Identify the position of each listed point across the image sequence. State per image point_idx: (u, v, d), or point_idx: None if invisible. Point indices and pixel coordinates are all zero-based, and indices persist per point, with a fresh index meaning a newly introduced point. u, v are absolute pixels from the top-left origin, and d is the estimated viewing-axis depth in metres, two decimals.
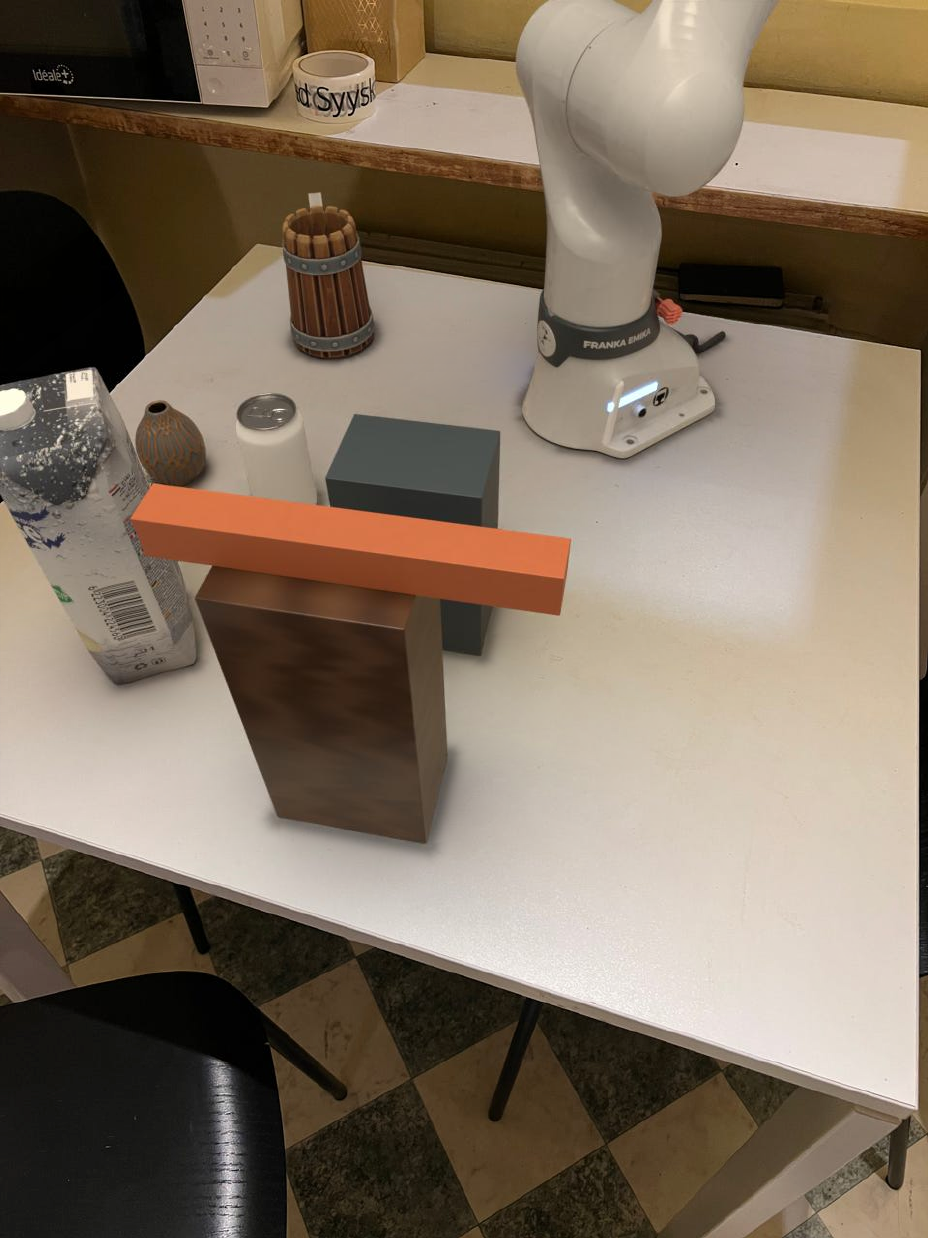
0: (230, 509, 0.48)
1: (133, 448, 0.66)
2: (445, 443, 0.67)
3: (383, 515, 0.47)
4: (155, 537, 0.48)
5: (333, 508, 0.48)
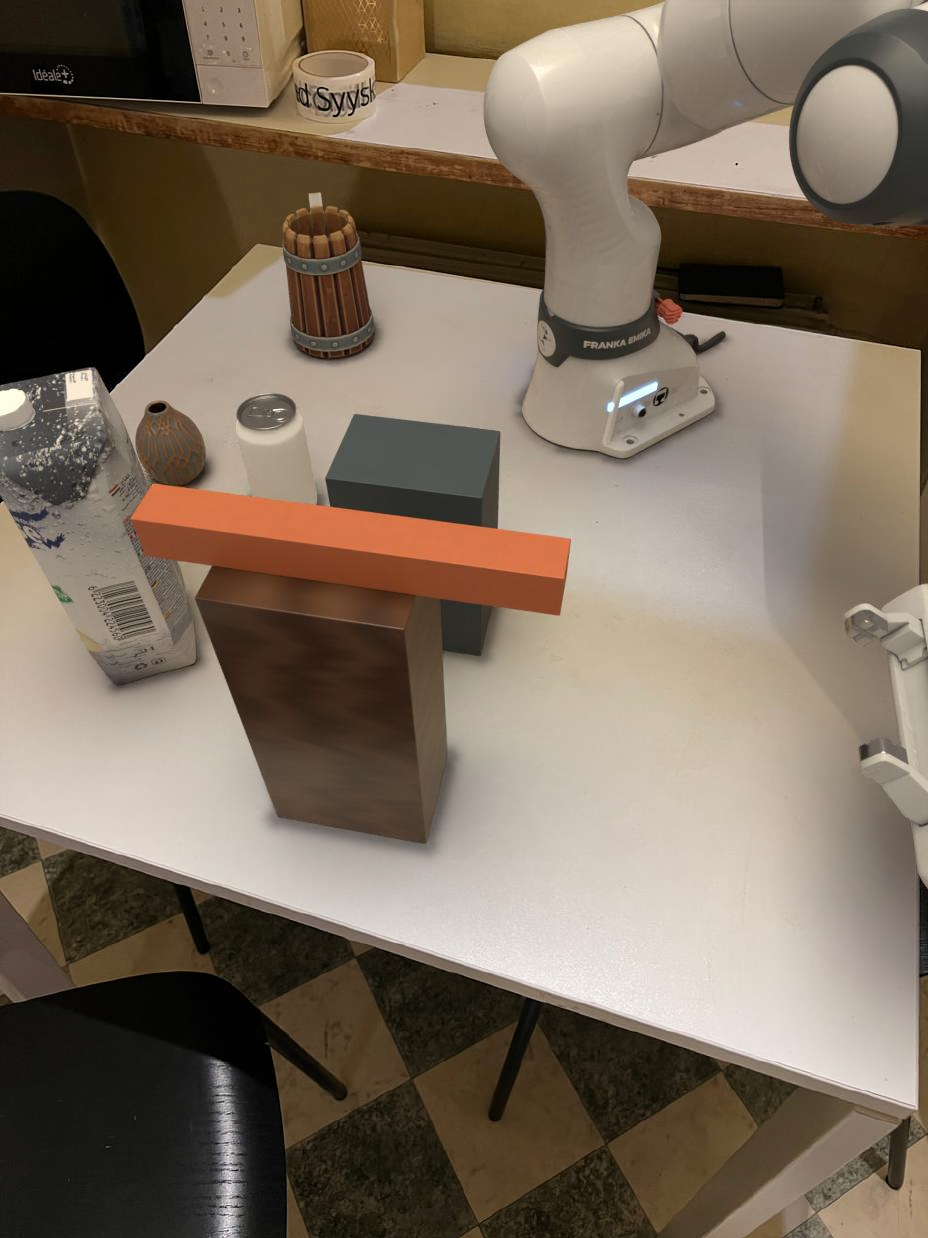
0: (230, 509, 0.48)
1: (133, 448, 0.66)
2: (445, 443, 0.67)
3: (383, 515, 0.47)
4: (155, 537, 0.48)
5: (333, 508, 0.48)
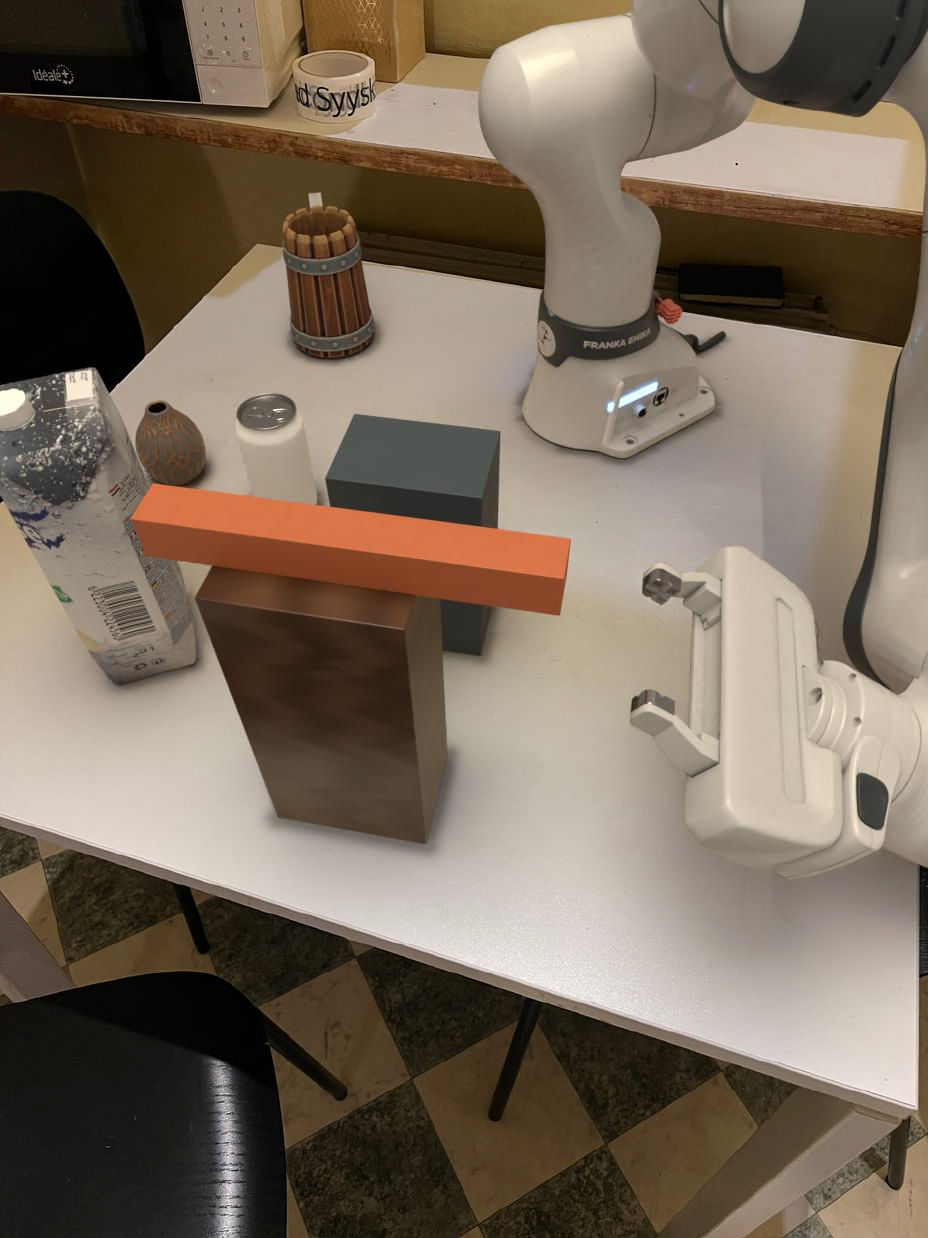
0: (230, 509, 0.48)
1: (133, 448, 0.66)
2: (445, 443, 0.67)
3: (383, 515, 0.47)
4: (155, 537, 0.48)
5: (333, 508, 0.48)
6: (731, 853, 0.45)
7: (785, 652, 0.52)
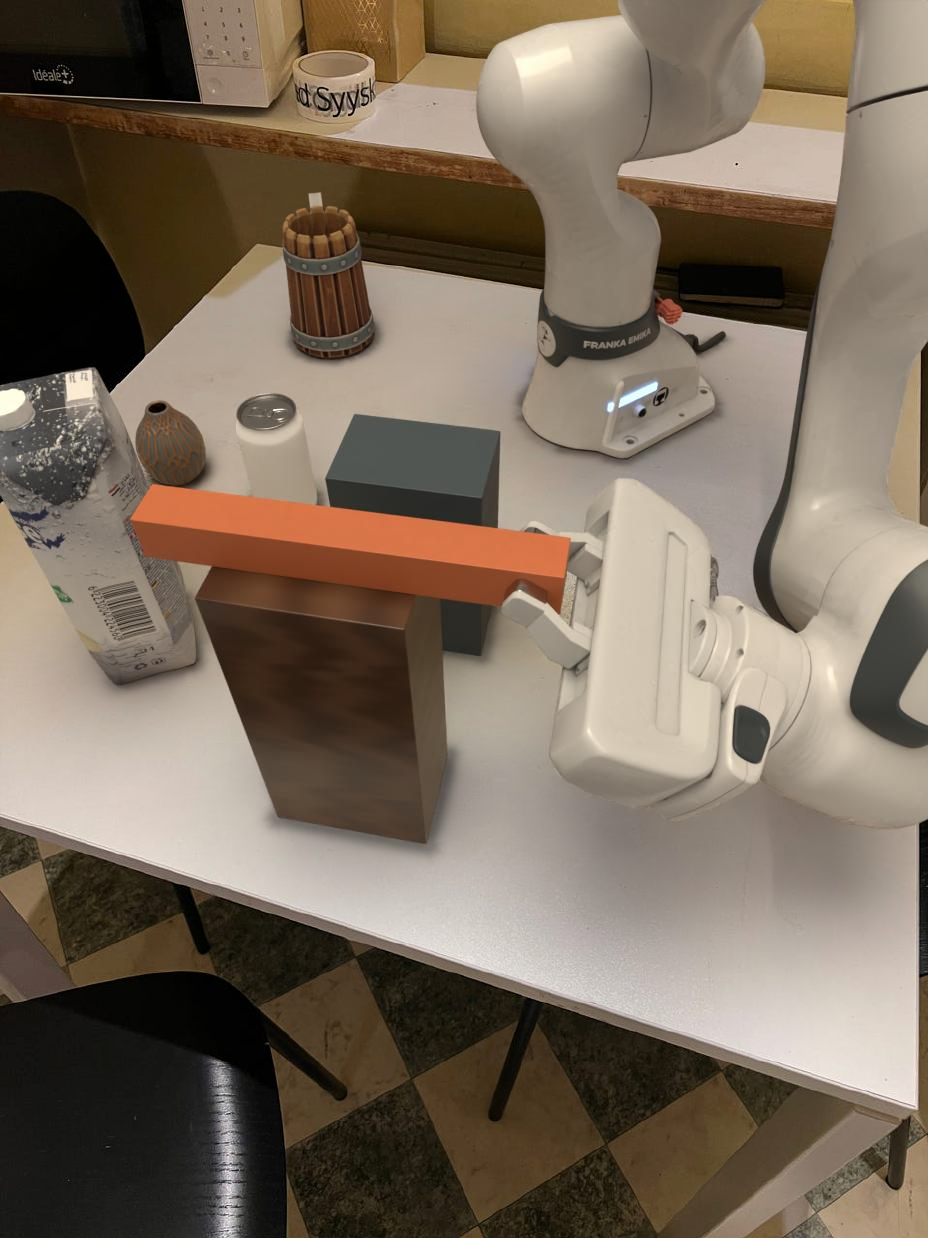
0: (230, 509, 0.48)
1: (133, 448, 0.66)
2: (445, 443, 0.67)
3: (383, 515, 0.47)
4: (154, 538, 0.48)
5: (333, 508, 0.48)
6: (598, 788, 0.43)
7: (673, 585, 0.50)
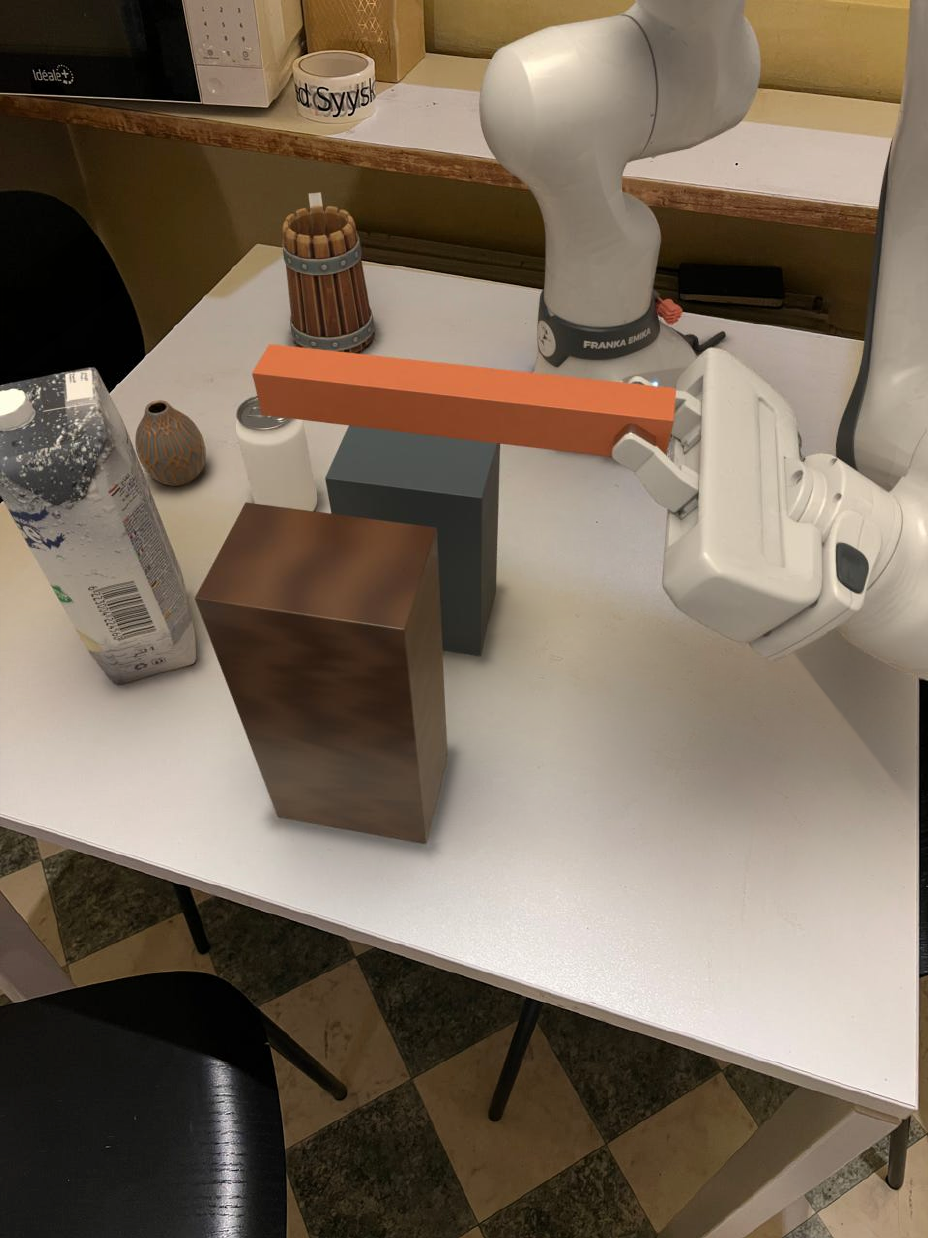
0: (347, 365, 0.50)
1: (133, 448, 0.66)
2: (445, 443, 0.67)
3: (494, 369, 0.50)
4: (274, 392, 0.50)
5: (445, 364, 0.50)
6: (709, 615, 0.45)
7: (766, 444, 0.52)
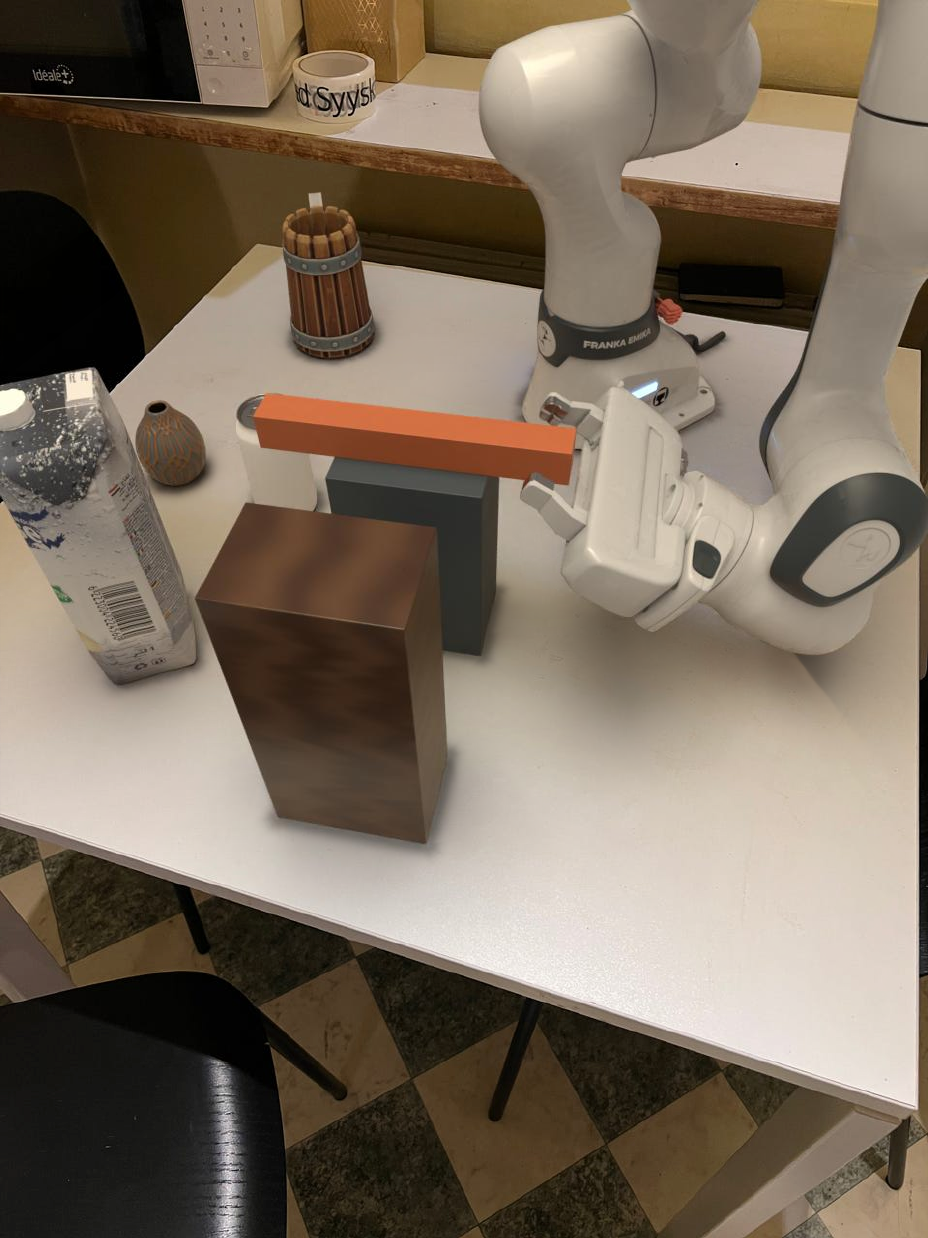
0: (326, 410, 0.65)
1: (133, 448, 0.66)
2: None
3: (439, 413, 0.64)
4: (269, 431, 0.65)
5: (401, 409, 0.65)
6: (596, 595, 0.60)
7: (652, 463, 0.67)
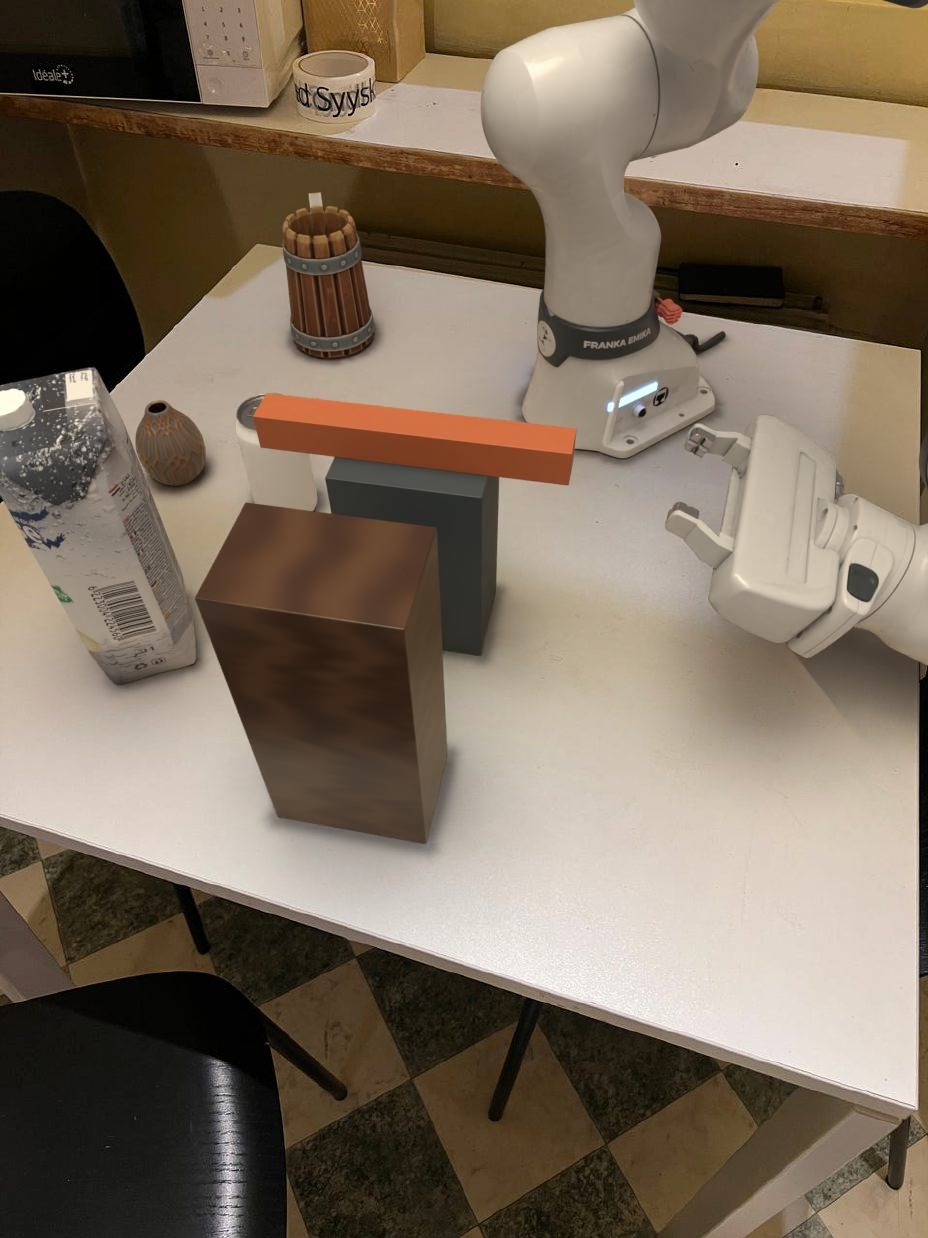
0: (326, 410, 0.65)
1: (133, 448, 0.66)
2: None
3: (439, 413, 0.64)
4: (269, 431, 0.65)
5: (401, 409, 0.65)
6: (745, 621, 0.60)
7: (803, 488, 0.66)
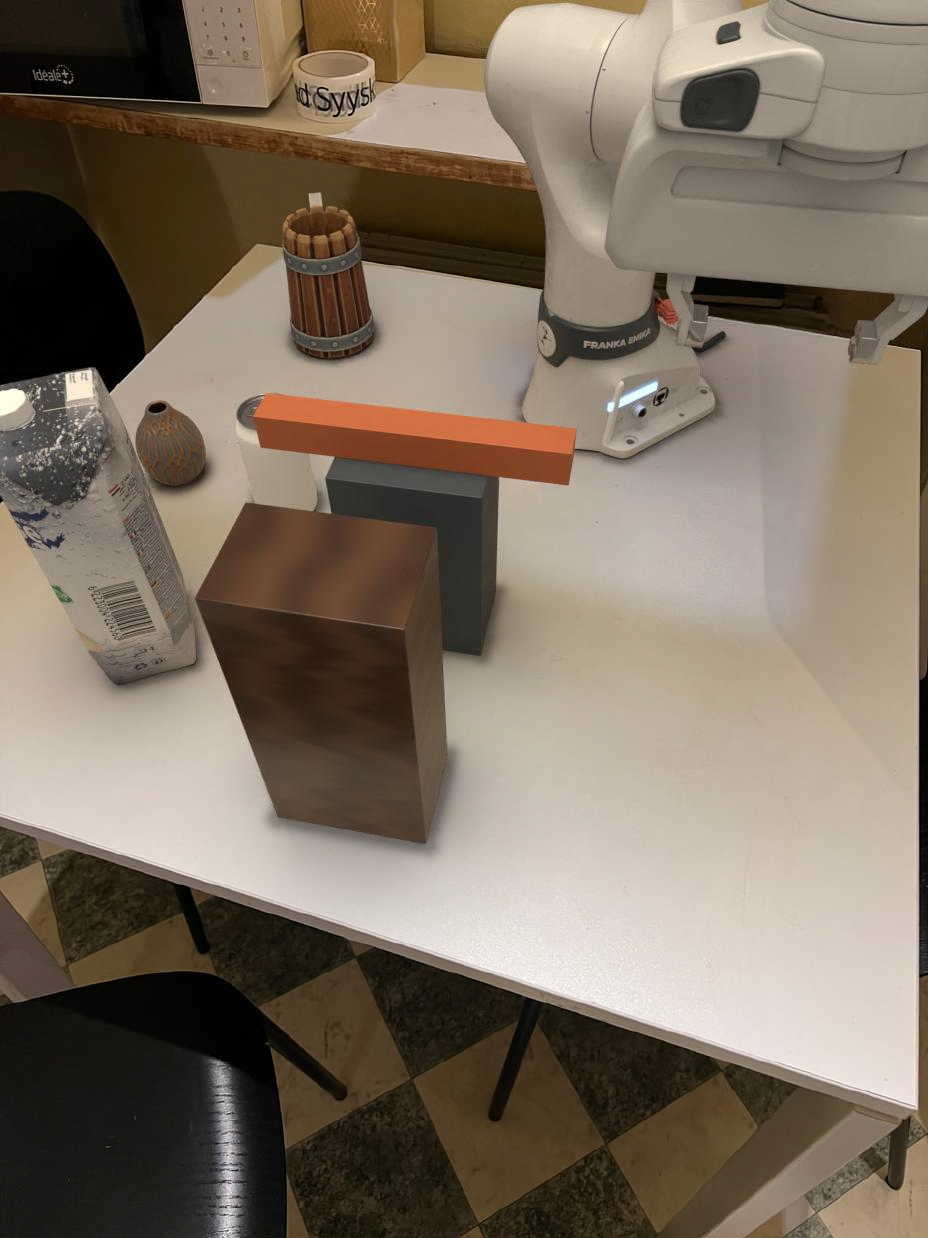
0: (326, 410, 0.65)
1: (133, 448, 0.66)
2: None
3: (439, 413, 0.64)
4: (269, 431, 0.65)
5: (401, 409, 0.65)
6: None
7: None
